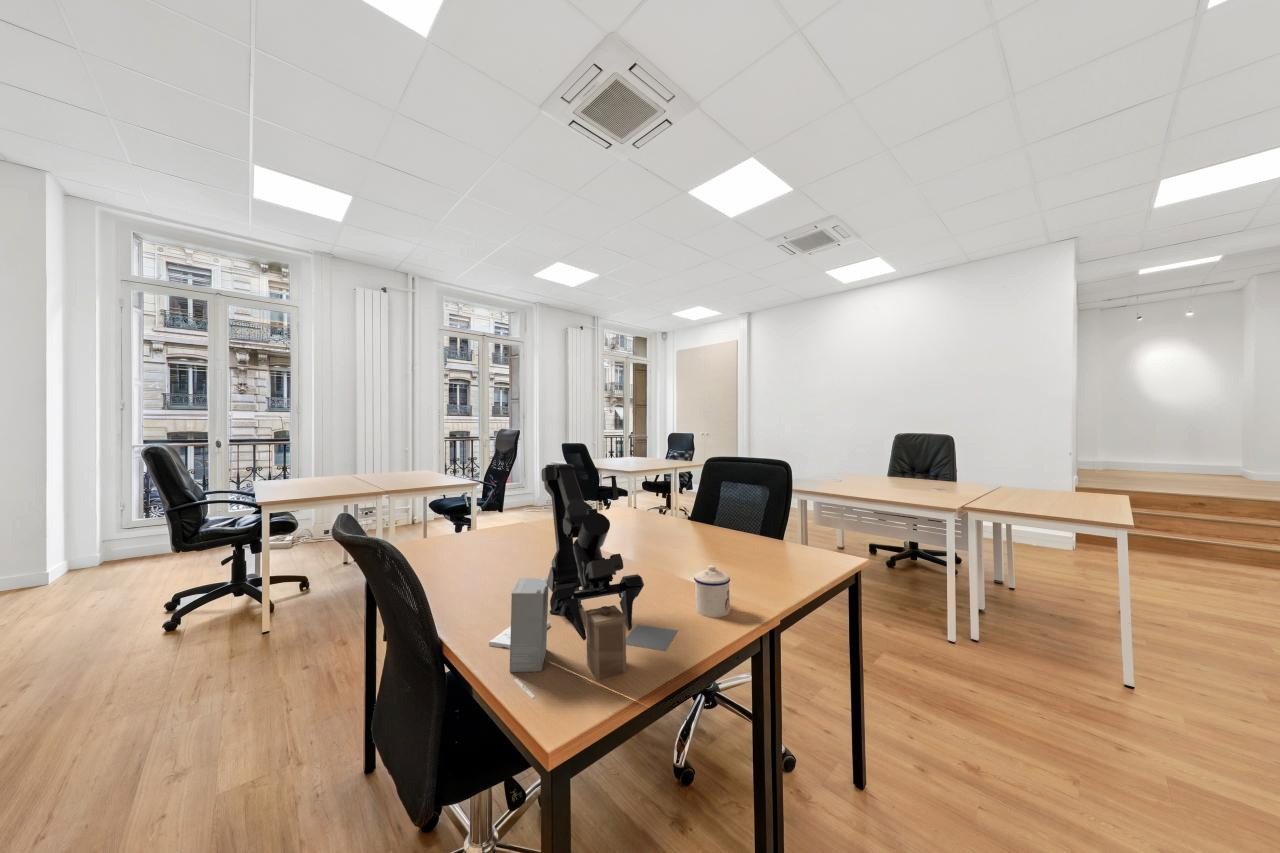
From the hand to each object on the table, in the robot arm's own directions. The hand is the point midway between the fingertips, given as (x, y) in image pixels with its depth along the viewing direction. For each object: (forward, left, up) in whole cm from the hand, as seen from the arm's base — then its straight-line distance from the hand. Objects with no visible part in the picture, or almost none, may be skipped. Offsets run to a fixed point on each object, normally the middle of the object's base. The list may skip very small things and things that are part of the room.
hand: (608, 634), depth 83 cm
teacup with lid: (+13, +36, -8) cm, 39 cm away
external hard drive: (-26, +8, -8) cm, 28 cm away
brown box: (-1, +1, -7) cm, 8 cm away
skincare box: (-17, -1, -8) cm, 19 cm away
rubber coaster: (+3, +16, -7) cm, 18 cm away
